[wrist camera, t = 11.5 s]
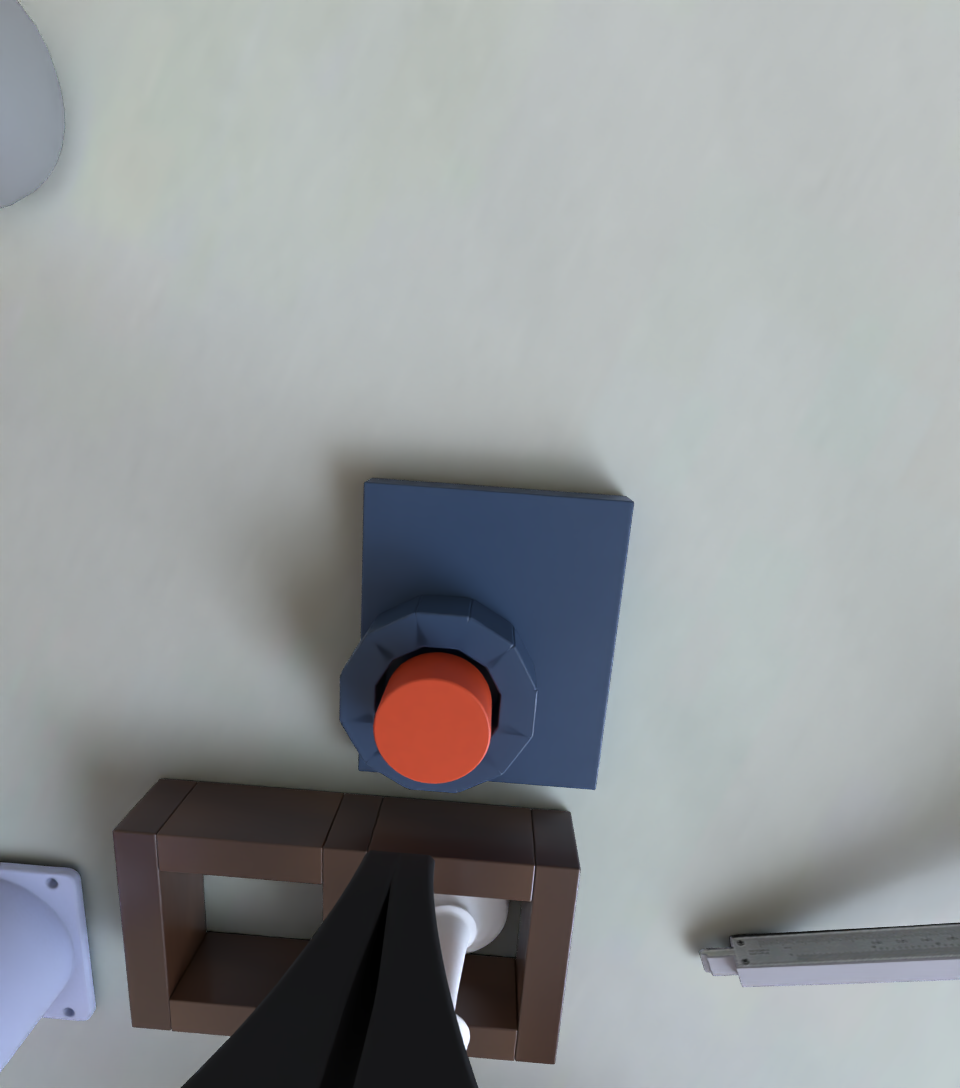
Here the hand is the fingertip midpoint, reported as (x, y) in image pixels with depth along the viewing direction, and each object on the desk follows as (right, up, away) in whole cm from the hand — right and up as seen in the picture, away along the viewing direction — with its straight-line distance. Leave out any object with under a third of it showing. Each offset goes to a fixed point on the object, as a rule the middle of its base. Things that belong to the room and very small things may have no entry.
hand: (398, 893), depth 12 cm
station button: (0, +2, +8) cm, 8 cm away
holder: (-3, -7, +13) cm, 15 cm away
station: (+2, +4, +10) cm, 11 cm away
